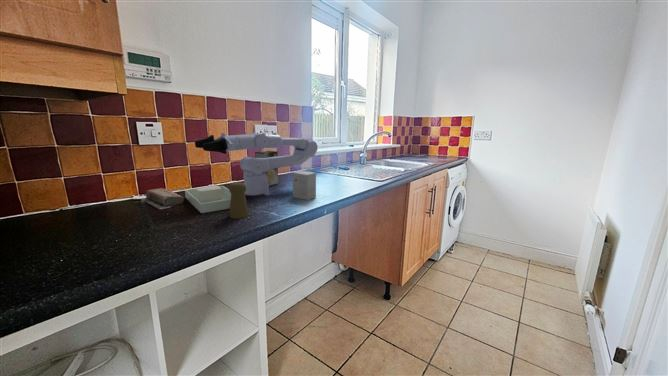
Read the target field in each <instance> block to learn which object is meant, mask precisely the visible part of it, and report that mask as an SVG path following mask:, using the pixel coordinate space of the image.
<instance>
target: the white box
mask: <svg viewBox="0 0 668 376" xmlns="http://www.w3.org/2000/svg"><path fill="white" fill-rule="evenodd" d="M219 186H220V185H211V186H210V185H209V186H201V187H195V188H194V189H195V191H196V199H198V200H199V201H200V202H205V201H211V200H218V199H223V192H222V188H220V187H219Z"/></svg>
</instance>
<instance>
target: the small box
mask: <svg viewBox="0 0 668 376" xmlns="http://www.w3.org/2000/svg"><path fill="white" fill-rule="evenodd" d="M292 197H293V198H295V199H301V200H303V201H304V200H305V201H309V200H310V201H311V200H313V199H315V198H316V197H317V172H314V171H313V172H312V171H305V170H298V171H293V172H292Z"/></svg>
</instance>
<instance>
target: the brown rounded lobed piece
mask: <svg viewBox="0 0 668 376" xmlns="http://www.w3.org/2000/svg"><path fill="white" fill-rule="evenodd" d="M228 189H229V191H230V192H231V202H230V209H229V214H228V215H229V218H230V219H234V220H236V219H245V218H247V217H249V210H248V204H247V203H248V202H247V199H246V195H245V191H246V185H245V184H244V182H240V181H239V182H238V181H237V182H232V183H230V184H229V187H228Z"/></svg>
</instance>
